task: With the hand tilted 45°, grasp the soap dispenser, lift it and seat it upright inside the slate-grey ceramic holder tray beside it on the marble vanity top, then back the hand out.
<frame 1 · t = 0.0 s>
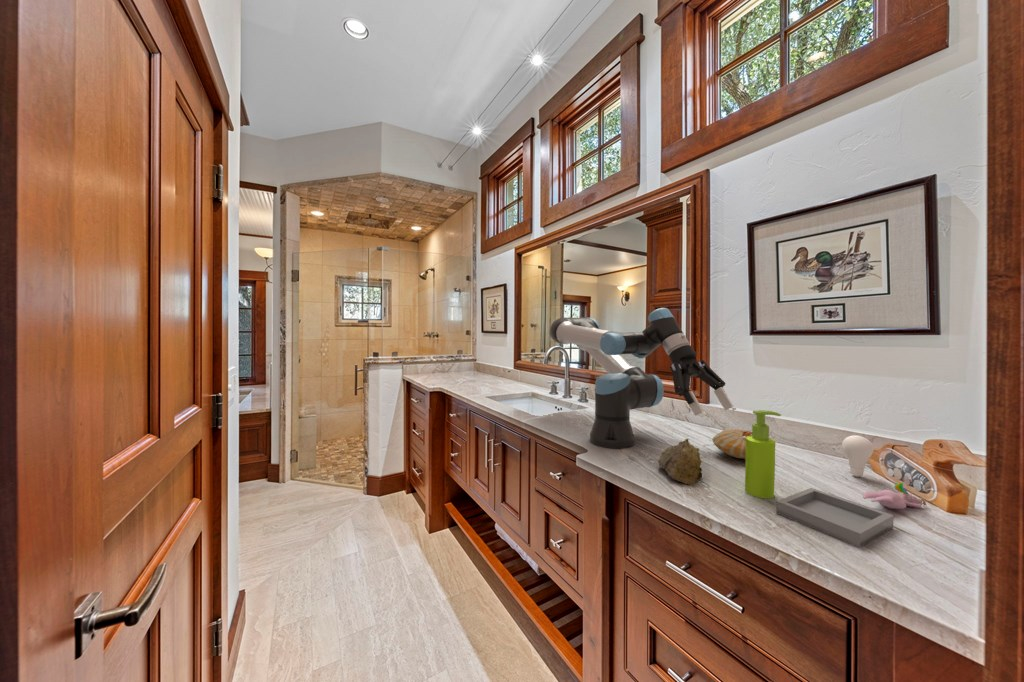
hand: (714, 411, 108), 15 cm above the countertop, fingers open, 13 cm apart
soap dispenser: (761, 493, 89), on the countertop
nautilus: (746, 456, 114), on the countertop
lightbulb: (856, 477, 98), on the countertop
rabbit figure: (893, 509, 82), on the countertop
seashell: (679, 475, 101), on the countertop
holder tray: (832, 520, 77), on the countertop
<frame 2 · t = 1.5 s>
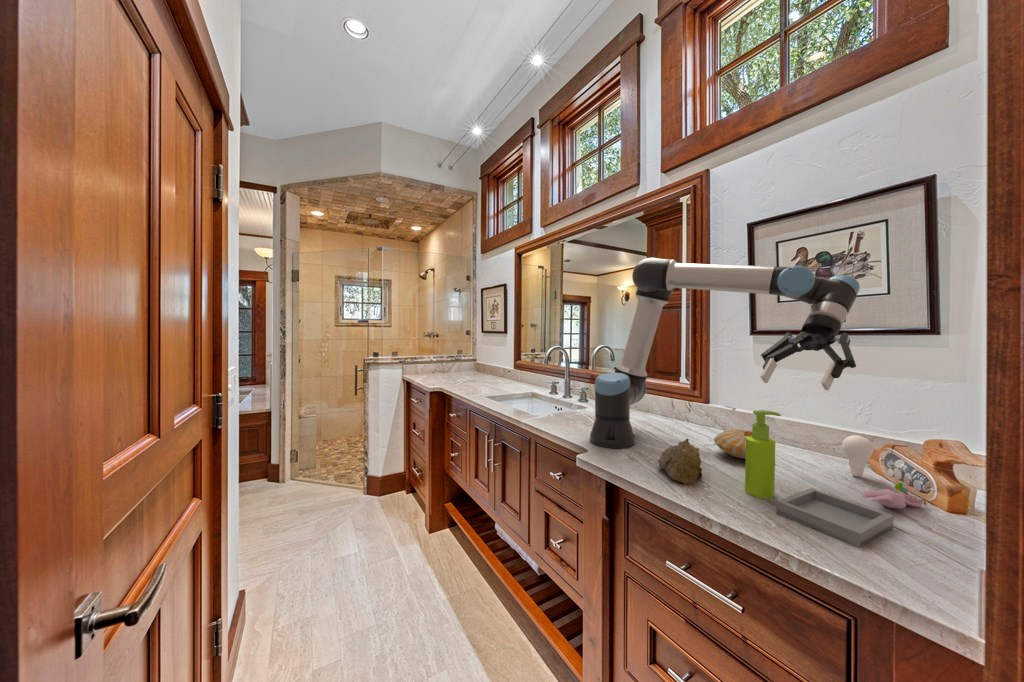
hand: (792, 383, 93), 26 cm above the countertop, fingers open, 13 cm apart
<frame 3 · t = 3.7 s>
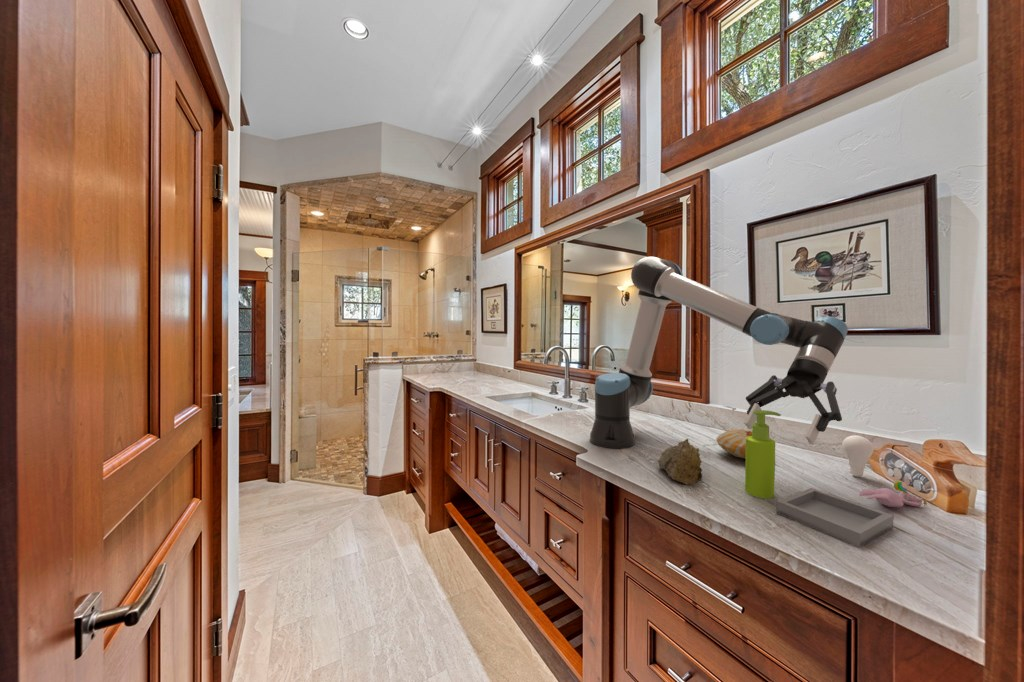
hand: (776, 433, 89), 14 cm above the countertop, fingers open, 13 cm apart
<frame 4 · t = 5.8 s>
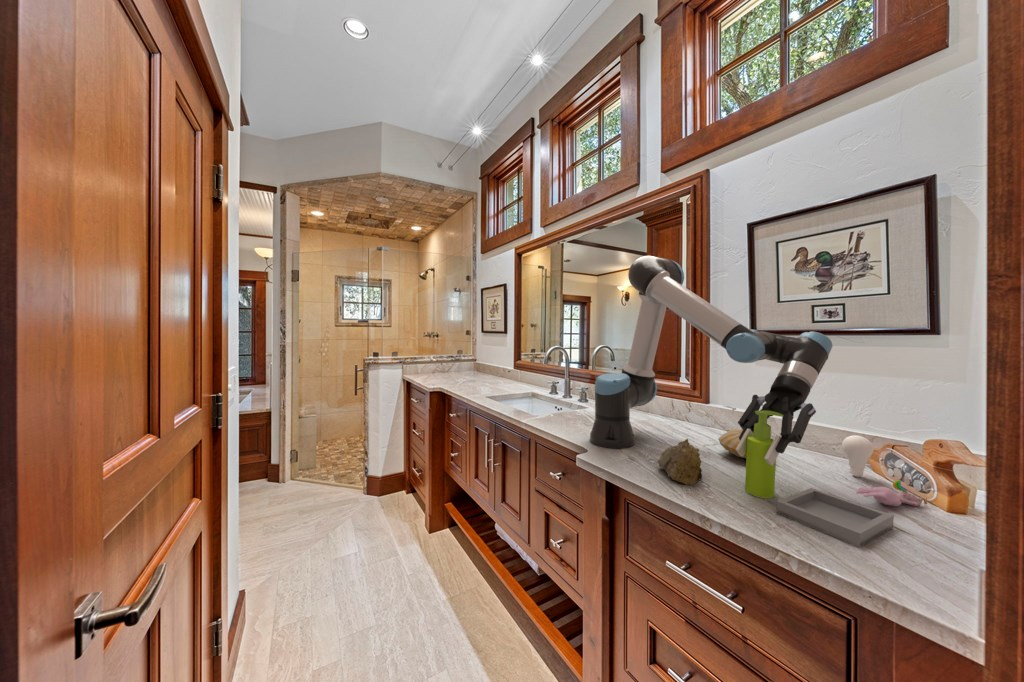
hand: (753, 457, 87), 9 cm above the countertop, fingers closed on soap dispenser, 6 cm apart
soap dispenser: (761, 493, 89), on the countertop, touching gripper
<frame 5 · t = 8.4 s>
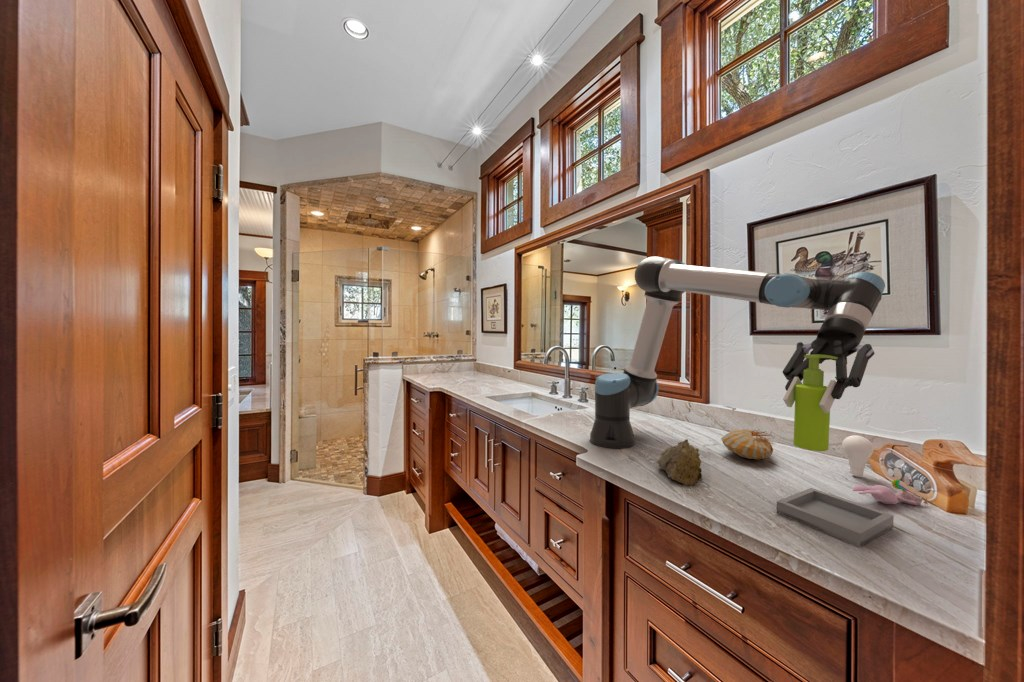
hand: (804, 405, 78), 24 cm above the countertop, fingers closed on soap dispenser, 6 cm apart
soap dispenser: (813, 447, 80), point 14 cm above the countertop, touching gripper
when the fingers open (12 cm above the countertop, at t = 11.0 s): soap dispenser drops 2 cm, resting on holder tray.
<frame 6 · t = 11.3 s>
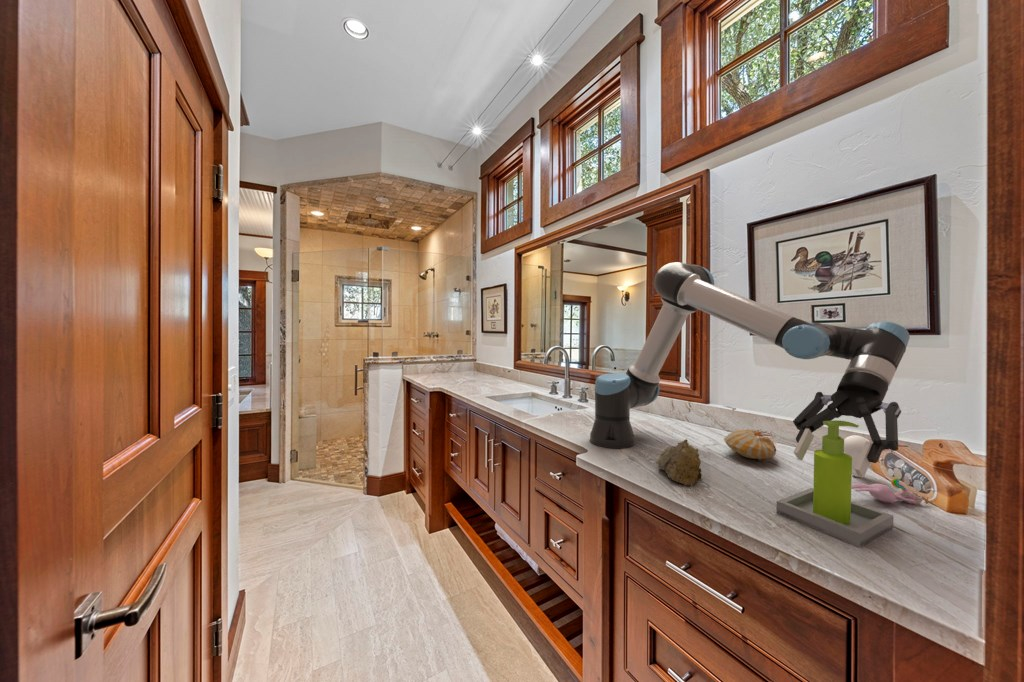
hand: (826, 464, 75), 12 cm above the countertop, fingers open, 9 cm apart
soap dispenser: (834, 517, 76), point 1 cm above the countertop, touching holder tray
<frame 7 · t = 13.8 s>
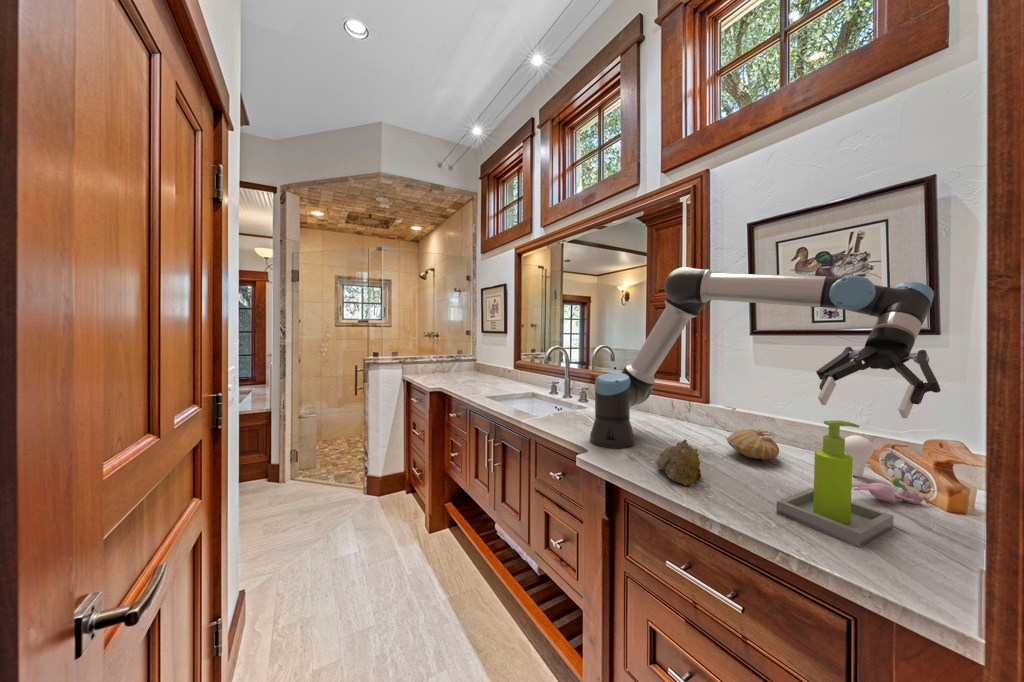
hand: (859, 407, 80), 23 cm above the countertop, fingers open, 13 cm apart
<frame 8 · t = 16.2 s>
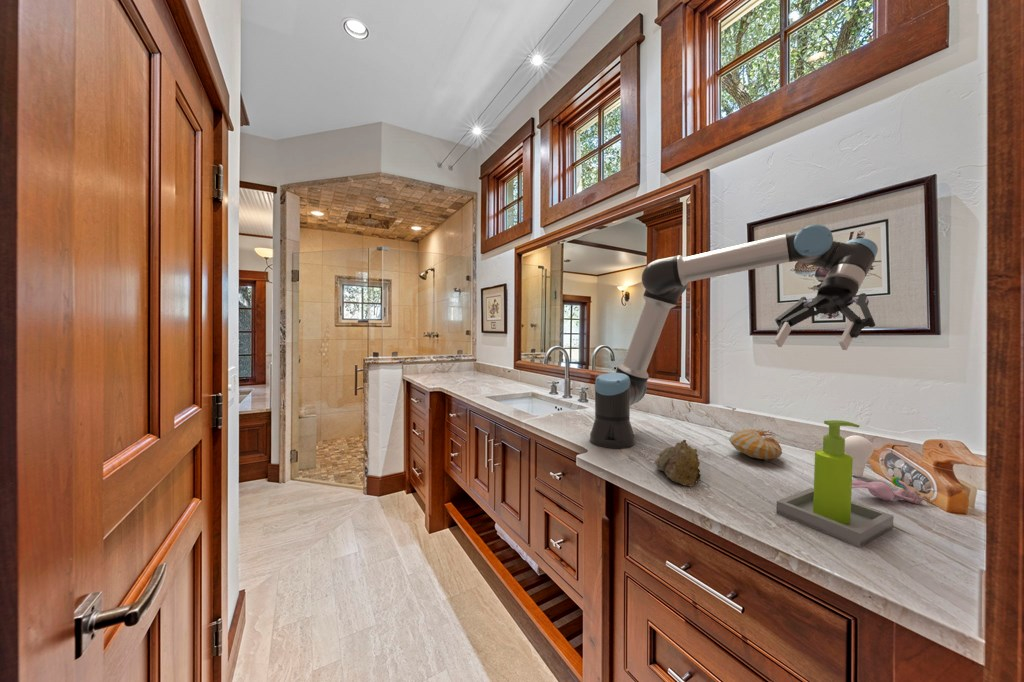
hand: (808, 344, 90), 36 cm above the countertop, fingers open, 13 cm apart
at the end: soap dispenser inside the target area on the holder tray (0.2 cm from its centre), point 0.7 cm above the holder tray's base; soap dispenser tilted 1°; the gripper is holding nothing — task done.
